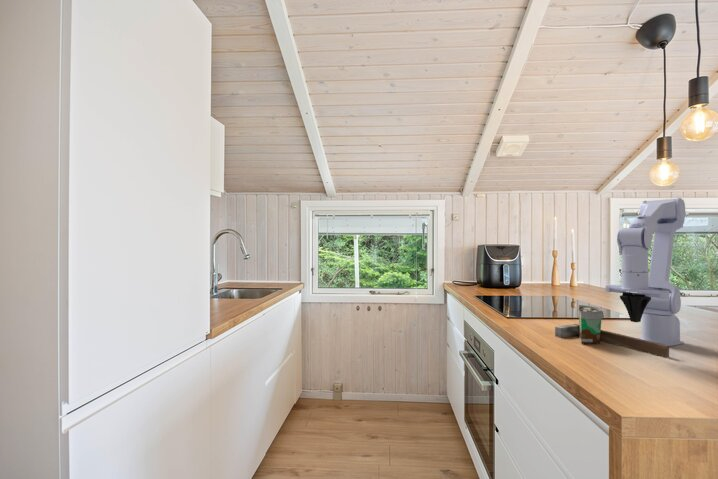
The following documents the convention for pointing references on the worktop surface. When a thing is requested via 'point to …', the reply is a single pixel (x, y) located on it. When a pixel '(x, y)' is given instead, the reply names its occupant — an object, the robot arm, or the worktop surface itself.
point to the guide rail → (618, 340)
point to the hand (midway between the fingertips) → (635, 321)
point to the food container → (590, 324)
